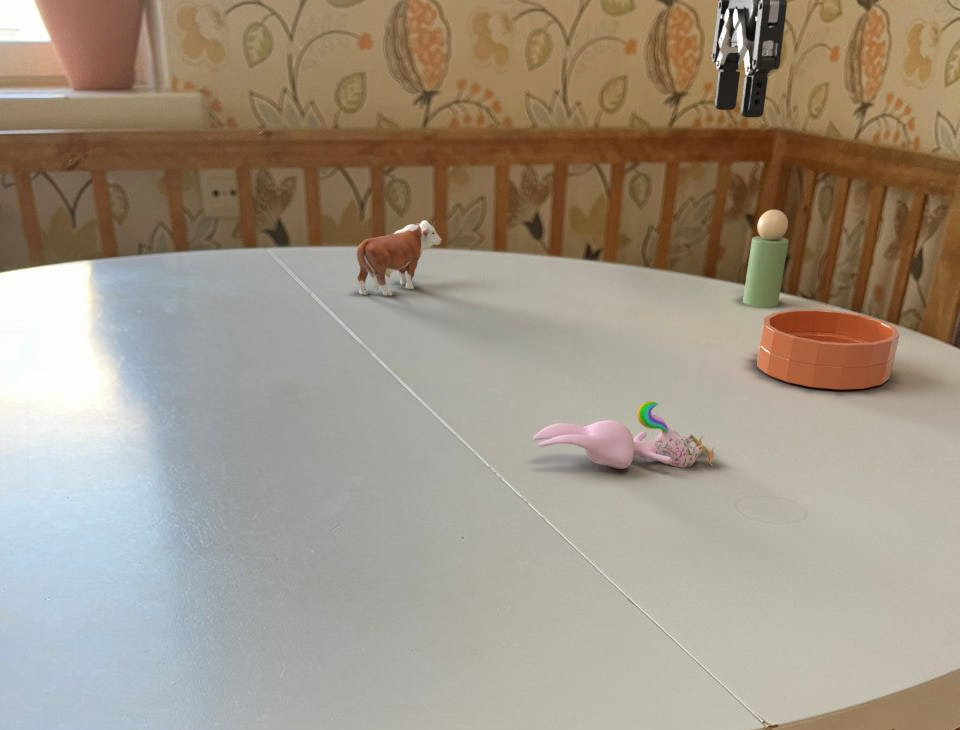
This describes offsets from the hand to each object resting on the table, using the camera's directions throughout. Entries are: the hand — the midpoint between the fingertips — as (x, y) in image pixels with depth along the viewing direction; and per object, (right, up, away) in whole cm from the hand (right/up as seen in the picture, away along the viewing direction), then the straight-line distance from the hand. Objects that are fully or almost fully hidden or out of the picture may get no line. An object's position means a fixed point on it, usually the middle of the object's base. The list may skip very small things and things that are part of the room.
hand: (737, 113), depth 112 cm
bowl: (+8, -29, -3) cm, 30 cm away
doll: (+8, -14, +21) cm, 27 cm away
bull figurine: (-38, -11, +24) cm, 46 cm away
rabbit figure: (-16, -42, -26) cm, 52 cm away
